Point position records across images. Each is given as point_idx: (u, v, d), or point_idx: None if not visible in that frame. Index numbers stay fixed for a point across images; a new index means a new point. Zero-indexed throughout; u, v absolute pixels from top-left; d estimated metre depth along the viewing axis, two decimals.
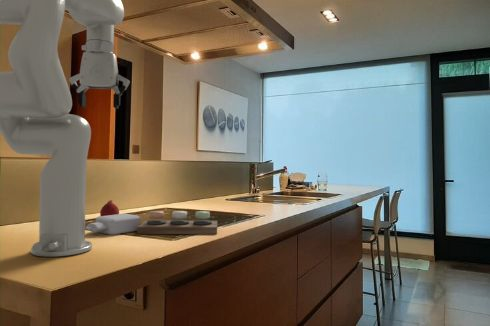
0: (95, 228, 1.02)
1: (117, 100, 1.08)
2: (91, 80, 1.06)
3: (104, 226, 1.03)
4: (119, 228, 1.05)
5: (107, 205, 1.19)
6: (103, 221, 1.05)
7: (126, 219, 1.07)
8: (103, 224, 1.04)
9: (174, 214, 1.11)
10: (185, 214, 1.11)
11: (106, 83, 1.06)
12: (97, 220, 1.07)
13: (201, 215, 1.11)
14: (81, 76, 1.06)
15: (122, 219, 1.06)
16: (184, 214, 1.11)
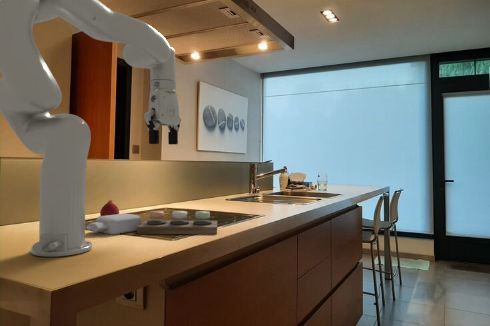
0: (96, 228, 1.02)
1: None
2: (168, 119, 1.09)
3: (104, 226, 1.04)
4: (119, 228, 1.05)
5: (107, 205, 1.19)
6: (103, 221, 1.06)
7: (126, 219, 1.07)
8: (103, 224, 1.04)
9: (174, 214, 1.11)
10: (185, 214, 1.11)
11: (176, 122, 1.13)
12: (98, 220, 1.07)
13: (201, 215, 1.11)
14: (162, 114, 1.07)
15: (122, 219, 1.06)
16: (184, 214, 1.11)
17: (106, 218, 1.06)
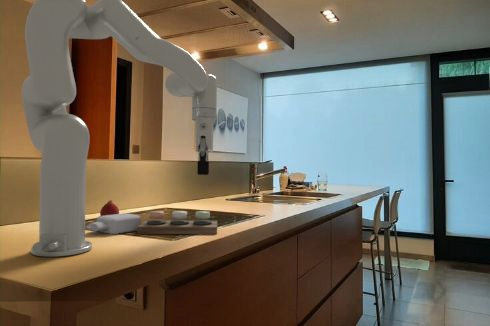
0: (96, 227, 1.03)
1: None
2: None
3: (105, 225, 1.04)
4: (119, 228, 1.05)
5: (107, 205, 1.19)
6: (104, 221, 1.06)
7: (127, 219, 1.07)
8: (104, 224, 1.05)
9: (174, 214, 1.11)
10: (185, 214, 1.11)
11: None
12: (98, 220, 1.08)
13: (201, 215, 1.11)
14: (211, 142, 1.09)
15: (123, 219, 1.07)
16: (184, 214, 1.11)
17: (106, 218, 1.06)
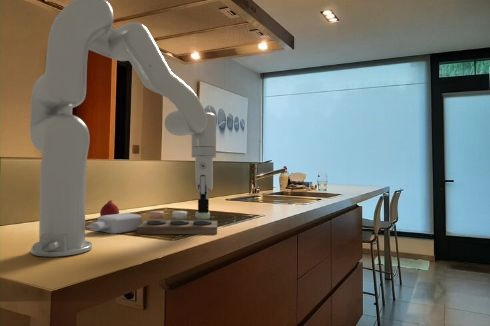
0: (97, 227, 1.03)
1: None
2: (212, 184, 1.12)
3: (106, 225, 1.05)
4: (120, 227, 1.06)
5: (107, 205, 1.19)
6: (105, 220, 1.07)
7: (128, 218, 1.08)
8: (105, 223, 1.05)
9: (174, 214, 1.11)
10: (185, 214, 1.11)
11: None
12: (99, 219, 1.09)
13: (201, 216, 1.11)
14: (211, 181, 1.09)
15: (124, 218, 1.07)
16: (184, 214, 1.11)
17: (107, 217, 1.07)
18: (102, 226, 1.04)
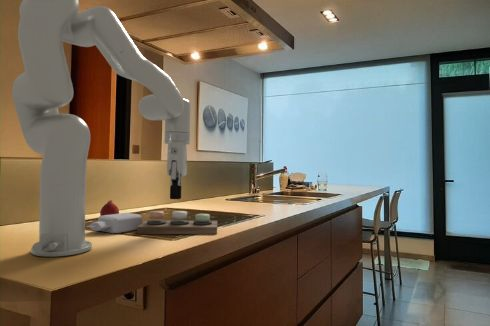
0: (98, 227, 1.04)
1: None
2: (184, 171, 1.11)
3: (107, 225, 1.05)
4: (121, 227, 1.06)
5: (107, 205, 1.19)
6: (106, 220, 1.07)
7: (128, 218, 1.09)
8: (106, 223, 1.06)
9: (174, 214, 1.11)
10: (185, 214, 1.11)
11: (186, 173, 1.15)
12: (99, 219, 1.09)
13: (201, 218, 1.11)
14: (183, 167, 1.08)
15: (124, 218, 1.08)
16: (184, 214, 1.11)
17: (108, 217, 1.07)
18: (103, 226, 1.04)
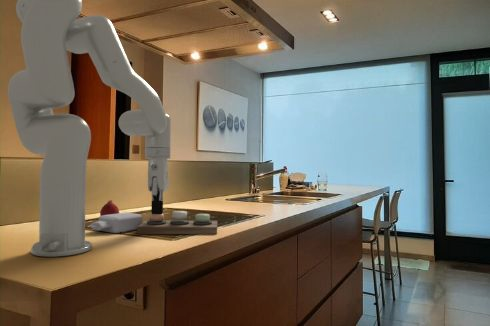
0: (99, 226, 1.04)
1: None
2: (166, 186, 1.11)
3: (108, 225, 1.06)
4: (122, 227, 1.07)
5: (107, 205, 1.19)
6: (106, 220, 1.08)
7: (129, 218, 1.09)
8: (107, 223, 1.06)
9: (174, 214, 1.11)
10: (185, 214, 1.11)
11: (167, 187, 1.15)
12: (100, 219, 1.09)
13: (201, 218, 1.11)
14: (163, 183, 1.08)
15: (125, 218, 1.08)
16: (184, 214, 1.11)
17: (109, 217, 1.08)
18: (104, 225, 1.05)
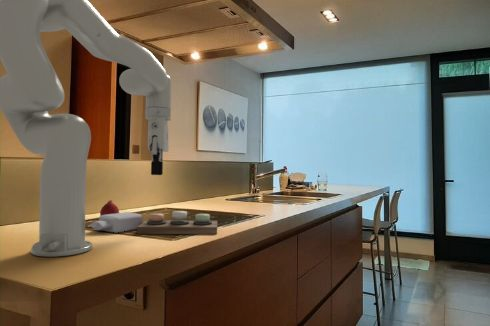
0: (99, 226, 1.05)
1: None
2: (166, 146, 1.11)
3: (108, 224, 1.06)
4: (122, 226, 1.08)
5: (107, 205, 1.19)
6: (107, 219, 1.08)
7: (129, 217, 1.10)
8: (107, 222, 1.07)
9: (174, 214, 1.11)
10: (185, 214, 1.11)
11: (167, 149, 1.15)
12: (100, 218, 1.10)
13: (201, 218, 1.11)
14: (163, 142, 1.08)
15: (125, 217, 1.09)
16: (184, 214, 1.11)
17: (109, 217, 1.09)
18: (104, 225, 1.05)
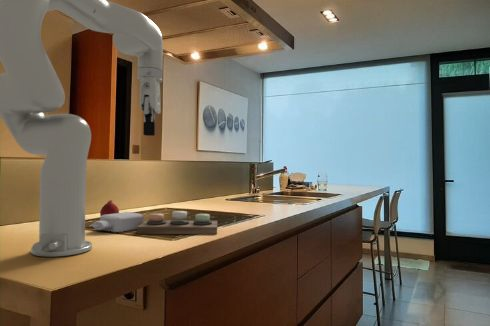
0: (101, 226, 1.05)
1: None
2: (158, 107, 1.12)
3: (109, 224, 1.07)
4: (123, 226, 1.08)
5: (107, 205, 1.19)
6: (108, 219, 1.09)
7: (130, 217, 1.10)
8: (108, 222, 1.07)
9: (174, 214, 1.11)
10: (185, 214, 1.11)
11: (160, 111, 1.17)
12: (101, 218, 1.10)
13: (201, 218, 1.11)
14: (155, 101, 1.10)
15: (126, 217, 1.10)
16: (184, 214, 1.11)
17: (110, 216, 1.09)
18: (106, 225, 1.06)
